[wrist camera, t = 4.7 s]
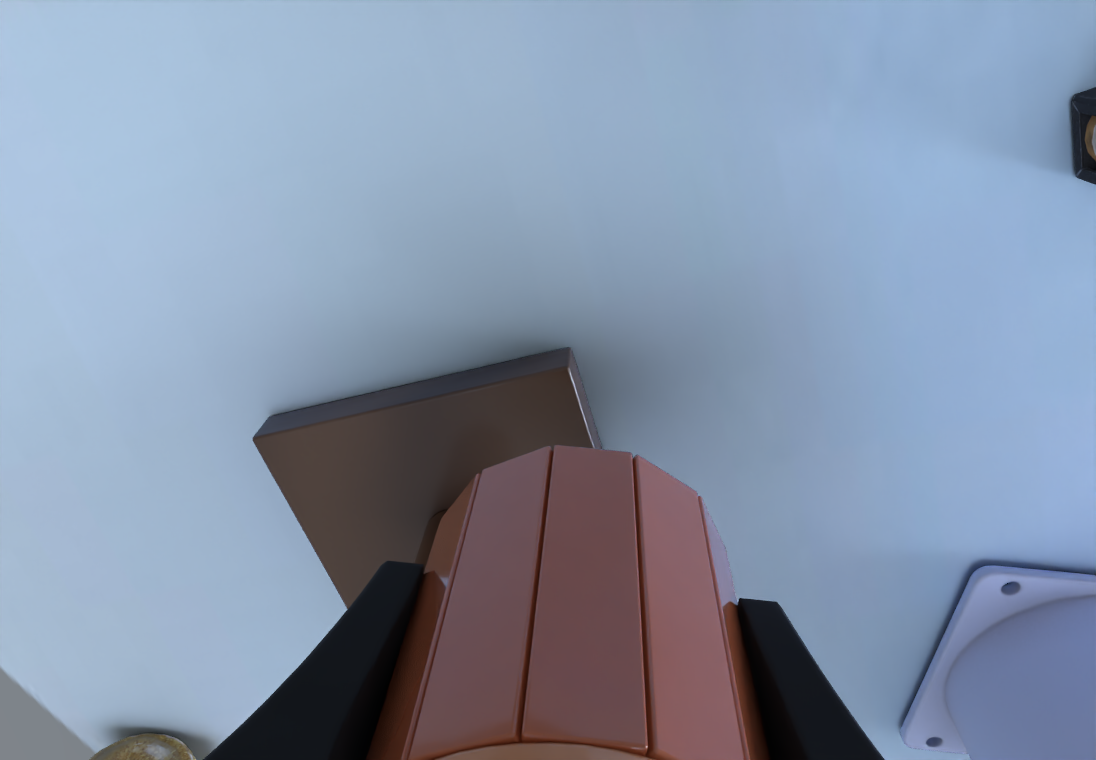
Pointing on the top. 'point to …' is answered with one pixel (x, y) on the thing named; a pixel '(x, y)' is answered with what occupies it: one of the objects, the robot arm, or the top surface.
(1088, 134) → the ammunition clip
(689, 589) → the brown wooden cylinder
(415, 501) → the peg stand
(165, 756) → the sprinkles bottle
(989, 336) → the top surface
